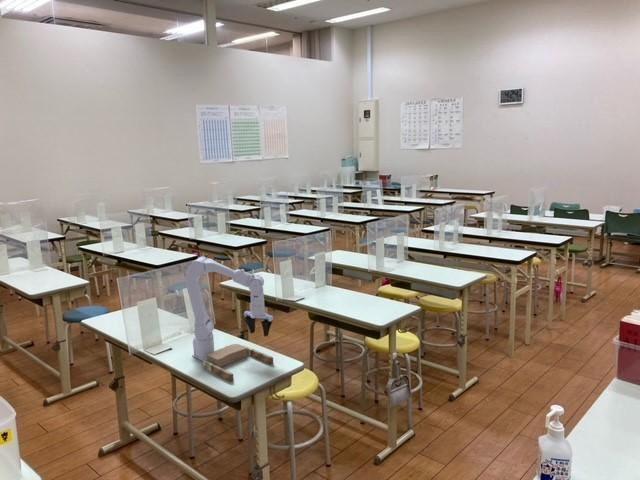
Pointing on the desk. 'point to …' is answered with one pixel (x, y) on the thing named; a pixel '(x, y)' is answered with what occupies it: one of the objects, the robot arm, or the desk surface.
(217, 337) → the desk surface
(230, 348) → the brick
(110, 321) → the desk surface
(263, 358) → the lane
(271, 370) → the desk surface
